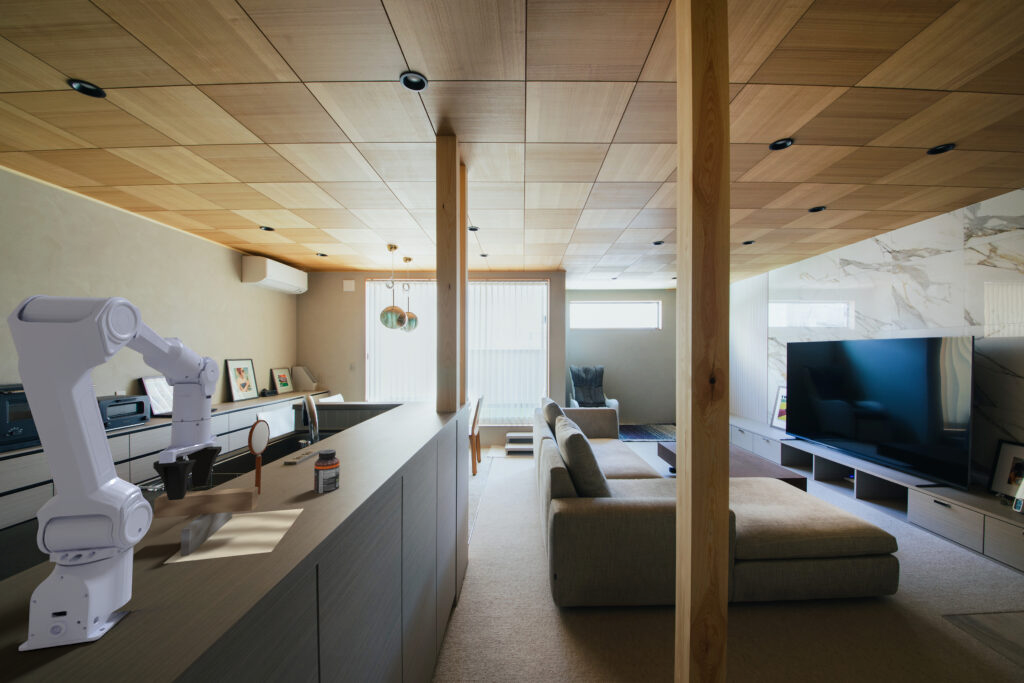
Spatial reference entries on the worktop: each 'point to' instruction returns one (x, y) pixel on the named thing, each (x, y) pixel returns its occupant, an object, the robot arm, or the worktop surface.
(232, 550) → the board
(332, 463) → the supplement bottle
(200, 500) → the walnut bar
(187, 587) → the worktop surface
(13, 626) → the worktop surface
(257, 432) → the magnifying glass
